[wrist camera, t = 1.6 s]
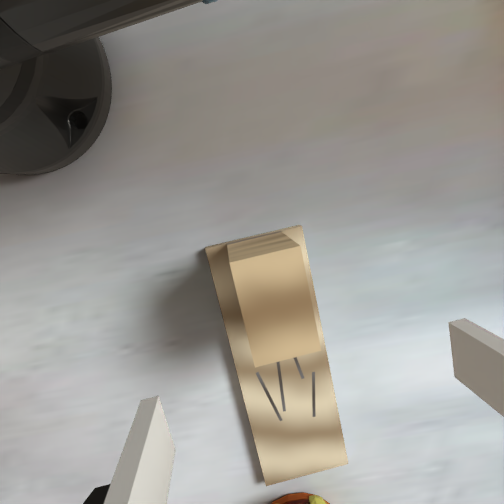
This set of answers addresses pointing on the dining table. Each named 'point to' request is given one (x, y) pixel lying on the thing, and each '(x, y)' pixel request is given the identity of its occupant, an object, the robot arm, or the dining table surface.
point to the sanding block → (274, 297)
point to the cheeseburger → (300, 499)
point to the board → (282, 387)
